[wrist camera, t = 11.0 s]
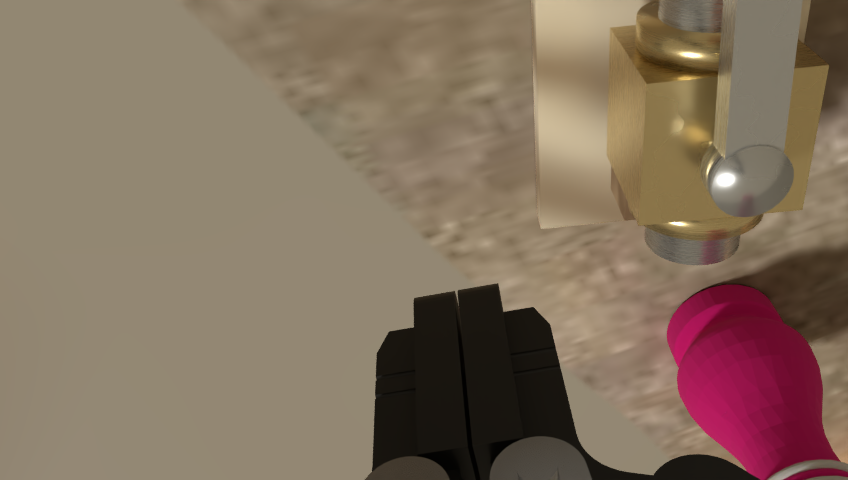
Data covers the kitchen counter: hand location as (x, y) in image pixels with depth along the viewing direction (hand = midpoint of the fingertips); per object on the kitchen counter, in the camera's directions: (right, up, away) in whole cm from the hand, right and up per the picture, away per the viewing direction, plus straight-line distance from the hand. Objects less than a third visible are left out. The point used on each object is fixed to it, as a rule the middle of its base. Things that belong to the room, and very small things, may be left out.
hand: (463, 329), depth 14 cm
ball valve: (+11, +8, +21) cm, 25 cm away
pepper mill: (+17, -3, +33) cm, 37 cm away
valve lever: (+10, +9, +12) cm, 18 cm away
